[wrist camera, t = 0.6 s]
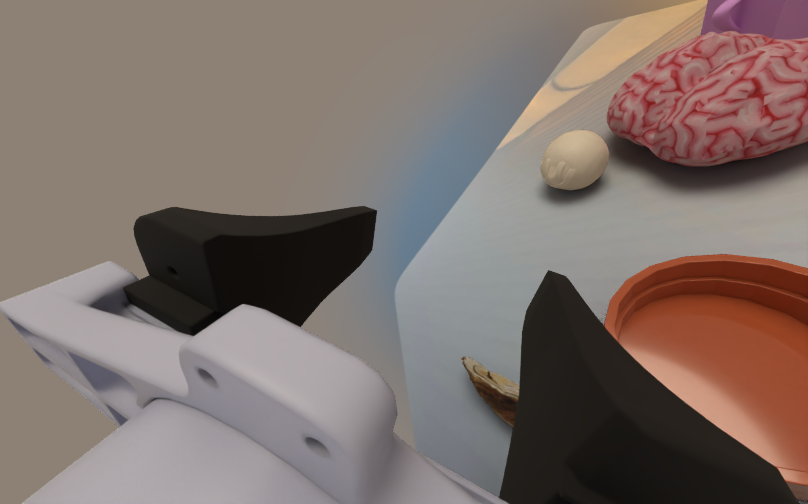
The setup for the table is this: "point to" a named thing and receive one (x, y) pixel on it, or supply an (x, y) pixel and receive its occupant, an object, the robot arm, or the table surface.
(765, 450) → the bowl
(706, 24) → the teapot
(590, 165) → the cream ball
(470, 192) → the table surface
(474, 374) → the oyster shell
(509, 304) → the table surface
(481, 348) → the table surface
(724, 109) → the brain
